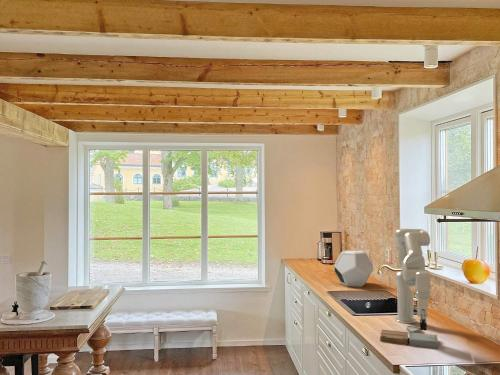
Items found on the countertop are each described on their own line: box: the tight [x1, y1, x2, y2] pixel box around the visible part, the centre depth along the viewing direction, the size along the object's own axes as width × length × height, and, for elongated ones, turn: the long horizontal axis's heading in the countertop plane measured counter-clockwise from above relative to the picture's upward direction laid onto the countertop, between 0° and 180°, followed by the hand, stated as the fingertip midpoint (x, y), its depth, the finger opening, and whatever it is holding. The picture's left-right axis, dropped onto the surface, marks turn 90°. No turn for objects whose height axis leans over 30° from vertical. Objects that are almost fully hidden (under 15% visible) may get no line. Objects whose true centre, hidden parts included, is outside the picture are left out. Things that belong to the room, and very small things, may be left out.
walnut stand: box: [379, 329, 409, 346], centre depth 249 cm, size 14×14×3 cm
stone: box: [405, 325, 426, 334], centre depth 261 cm, size 12×9×3 cm
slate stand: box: [408, 331, 439, 349], centre depth 244 cm, size 14×14×3 cm
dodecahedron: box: [333, 249, 374, 288], centre depth 403 cm, size 34×36×30 cm
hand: (423, 328), depth 244 cm, fingers open, 5 cm apart
